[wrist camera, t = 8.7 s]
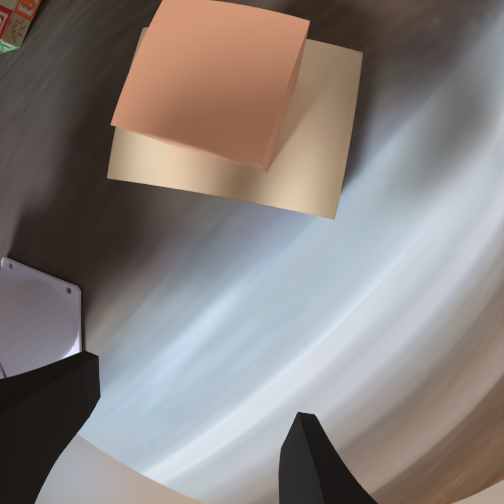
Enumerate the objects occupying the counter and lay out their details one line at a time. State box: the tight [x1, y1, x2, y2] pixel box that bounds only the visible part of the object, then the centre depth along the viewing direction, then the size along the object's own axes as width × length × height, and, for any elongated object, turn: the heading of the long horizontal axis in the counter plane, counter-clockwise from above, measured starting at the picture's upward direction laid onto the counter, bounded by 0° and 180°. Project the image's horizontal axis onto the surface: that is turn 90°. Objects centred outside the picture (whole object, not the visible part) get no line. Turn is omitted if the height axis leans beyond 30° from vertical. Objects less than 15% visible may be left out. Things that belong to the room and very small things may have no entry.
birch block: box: [107, 27, 363, 220], centre depth 16 cm, size 12×9×4 cm
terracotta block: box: [111, 0, 310, 172], centre depth 11 cm, size 5×5×6 cm
